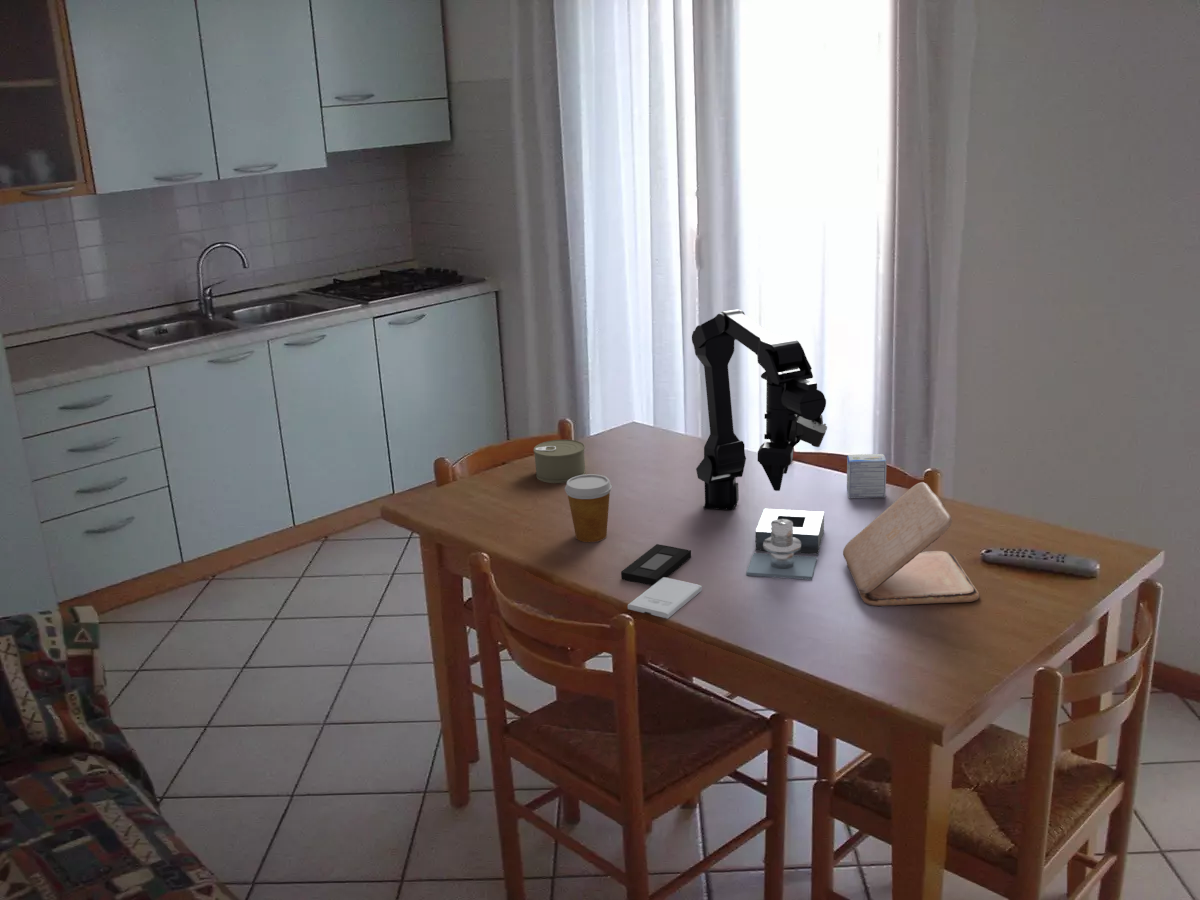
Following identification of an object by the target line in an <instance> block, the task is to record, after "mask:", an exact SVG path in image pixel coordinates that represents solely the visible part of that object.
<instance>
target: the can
mask: <svg viewBox="0 0 1200 900" xmlns="http://www.w3.org/2000/svg"><path fill="white" fill-rule="evenodd" d="M585 448H586V446H585V444H584V443H583V442H581V441H578V440H574V439H553V440H547V441H543V442H541V443H538V444H536V445H535V446H534V447H533V453H534V464H535V472H536V474H535V475H536V478H537V480H539V481H540V482H544V483H548V484H567V481H568V480H569V479H570V478H572V477H575V476H579V475H586V463H585V462H586V461H585Z"/></svg>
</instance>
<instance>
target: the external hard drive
mask: <svg viewBox="0 0 1200 900" xmlns="http://www.w3.org/2000/svg"><path fill="white" fill-rule="evenodd" d="M702 587H703V586H702V585H700V584H697V583H692V582H688V581H683V580H679V579H675V578H671V577H670V578H669V577H667V578H666V577H663V578H662V579H660V580H659V581H658V582H657V583H655V584H654V585H653V586H650V587H649V588H648V589H646V590H645V591H644V592H642V593H641V594H640V595H638V596H637V597H636V598H634V600H632V601H631V602H630V603H628V604H627V610H631V611H634V612H638V613H642V614H648V615H651V616H655V617H658V618H659V617H660V618H663V619H670V617H672V616H673V615H674V614H675V613H677V612H678V611H679V610H680V609H681V608H683V606H685V605H686V604H687V603H689V602H690V601H691V600H692V599H694V598H695V597H696V596H697V595H698V594H700V592H702V591H703V589H702Z"/></svg>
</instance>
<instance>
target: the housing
mask: <svg viewBox="0 0 1200 900" xmlns="http://www.w3.org/2000/svg"><path fill="white" fill-rule="evenodd" d="M776 519H787V520H791V521H792V522H793V537H794V538H797V539H799V540H800V541H801V549H800V550H799V551H797V552H795V553H794V554H807V555H808V554H809V555H819V552H820V548H821V544H822V540H823V535H824V532H825V511H819V510H818V511H816V510H815V511H814V510H813V511H812V510H800V509H799V510H798V509H797V510H796V509H776V508H764V509H763V512H762V514H761V517H760V519H759V521H758V523H757V524H758V525H757V527H756V528H755V551H758V552H759V551H760V552H761V551H762V552H767V551H766V550H765V549H764V548H763V542H764V540H765V539H767V538H769V537H771V522H772V521H773V520H776Z"/></svg>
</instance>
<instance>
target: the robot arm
mask: <svg viewBox="0 0 1200 900" xmlns="http://www.w3.org/2000/svg"><path fill="white" fill-rule="evenodd" d="M735 341H738V342H739V343H740V344H742V345H743V346H744V347H746V348H747V349H748V350H750V351H751V352H753V353H754V354H755V355H756V357H757V364H759V366H760V367H762V369H763V370H764V372H762V373H761V374H760V377H761V379H763V380H765V381H766V395H765V396H766V408H765V409H766V410H765V412H764V419H765V420H766V425H765V427H766V429H765V431H764V434H763V435H764V436H763V437H764V440H769V441H764V442H763V443H762V444H761V445H760V446H759V448H758V451H757V462H758V463H759V465H761V466H762V468H763V470H764V472H765V474H766V476H767V478H768V480H769V483H770V485H771V487H772V489H773V491H774V492H779V491H781V488H782V482H783V477H784V475H786V474H787V473H788V469H789V466H790V465H791V464H792V463H793V460H794V447H796V445H798V444H799V443H800V442H801V441H803V442H805V443H807V444H810V445H811V446H812V447H815V448H820V447H821V444H822V442H823V439H824V438H825V435H826V431H827V430H828V426H827V424H826V423H824V420H823V419H824V417H823V413H824V411H825V409H826V406H827V399H826V397H825V394H824V393H823V392H822V391H821V390H819V389H818V384H817V382H814V381H810V380H811V379H813V378H814V374H813V373H812V366H811V364H810V362H809V360H808V359H807V356H806V353H805V350H804V348H803V346H802V344H801V343H800V342H799V341H798V340H797V339H796V338H792V337H789V336H786V335H782V334H781V335H779V334H775V333H773V332H771V331H769V330H768V329H766V328H764V327H763V326H761V325H760V324H759V323H757V322H756V321H754V320H753V319H752V318H750V317H749V316H747V315H746V314H745V312H744V311H743V310H741V309H730V310H726V311H725V310H724V311H720V313H718V314H716V315H715V316H714V317H712V318H711V319H709V320H707V321H705V322H703V323H701V324H699V325H697V326H696V327H695V328H694V330H693V331H692V333H691V342H692V345H693V349H694V354H695V356H696V358H697V359H698V361H700V363H701V365H703V369H704V379H705V388H706V389H705V390H706V401H707V403H706V404H707V412H708V424H709V436H708V438H707V440H706V443H705V444H704V446H703V459H702V460H701V461H700V462H699V463H698V466H697V467H695V470H696V475H697V479H699V480H700V481H702V482H703V483H704V504H703V507H702V508H703V509H704V510H705V509H707V510H709V509H711V510H727V511H733V510H734V509H735V506H736V505H738V503H739V497H740V496H739V493H740V492H739V483H738V482H736V478H742V477H743V474H744V470H745V465H746V460H747V457H746V453H745V443H744V441H743V440H740V439H739V438H738V437H737V434H735V430H734V423H733V422H734V419H733V409H732V407H733V406H732V397H731V386H730V384H731V383H730V375H729V374H730V373H729V363H730V361H731V359H732V357H733V355H734V352H735ZM795 370H796V371H795Z"/></svg>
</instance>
